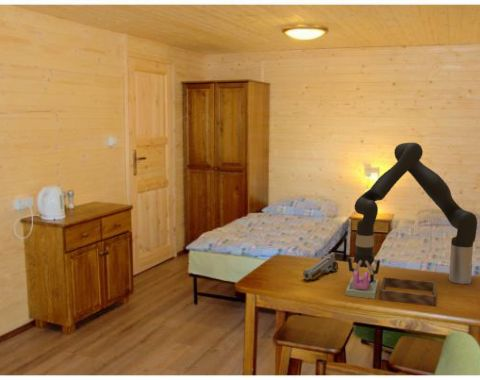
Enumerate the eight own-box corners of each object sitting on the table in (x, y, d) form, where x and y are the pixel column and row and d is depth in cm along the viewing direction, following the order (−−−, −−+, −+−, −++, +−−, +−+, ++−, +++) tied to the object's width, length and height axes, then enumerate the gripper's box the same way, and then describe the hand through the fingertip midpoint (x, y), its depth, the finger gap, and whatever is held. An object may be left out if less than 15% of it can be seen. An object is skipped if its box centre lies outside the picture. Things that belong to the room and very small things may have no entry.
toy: (339, 270, 254) (337, 251, 251) (312, 291, 238) (310, 271, 235) (329, 268, 258) (328, 249, 255) (303, 288, 241) (300, 269, 239)
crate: (434, 291, 226) (435, 282, 225) (435, 306, 208) (436, 296, 208) (383, 285, 233) (383, 276, 233) (379, 299, 215) (380, 290, 215)
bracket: (366, 289, 220) (366, 273, 219) (353, 287, 222) (353, 271, 221) (373, 280, 231) (373, 265, 230) (360, 278, 234) (361, 264, 233)
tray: (378, 284, 234) (378, 279, 233) (374, 298, 216) (374, 293, 216) (351, 281, 238) (352, 276, 237) (345, 295, 220) (346, 289, 220)
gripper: (382, 243, 225) (380, 280, 228) (349, 241, 230) (348, 277, 232) (381, 247, 218) (379, 286, 221) (346, 245, 223) (345, 282, 225)
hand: (363, 281), depth 226 cm, fingers closed on bracket, 6 cm apart
